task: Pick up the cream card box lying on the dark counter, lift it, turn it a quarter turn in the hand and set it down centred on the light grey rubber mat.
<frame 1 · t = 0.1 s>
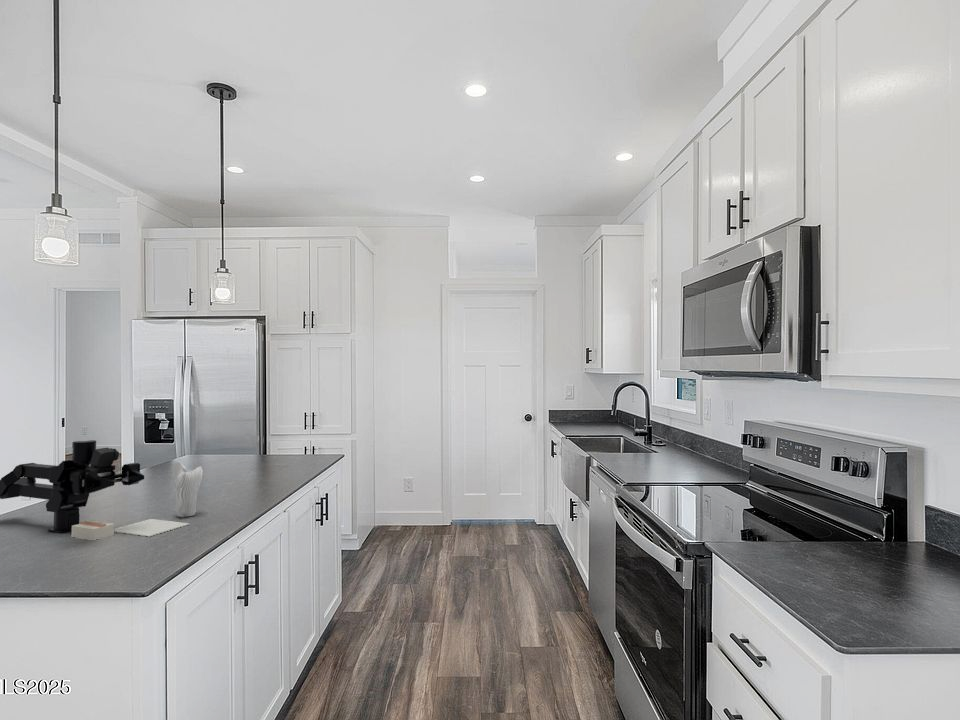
hand: (129, 480, 160), 17 cm above the countertop, tool horizontal, fingers open, 9 cm apart
card box: (92, 537, 161), on the countertop
mat: (150, 528, 170), on the countertop
shell sculpture: (186, 516, 185), on the countertop
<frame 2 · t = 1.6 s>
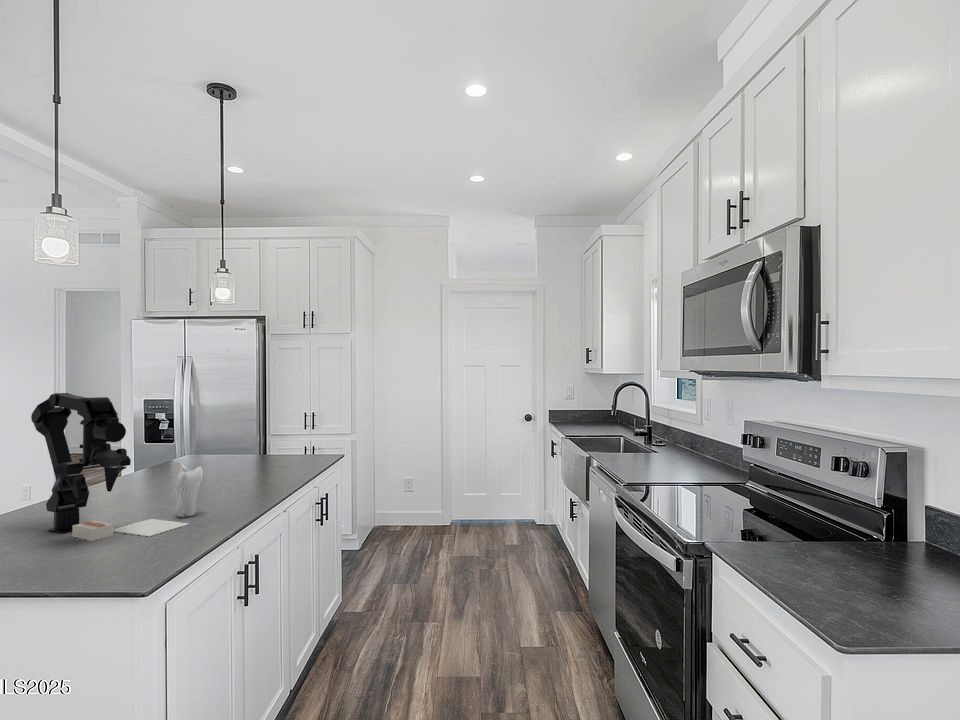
hand: (93, 494, 162), 12 cm above the countertop, tool pointing down, fingers open, 9 cm apart
nothing on the countertop moved.
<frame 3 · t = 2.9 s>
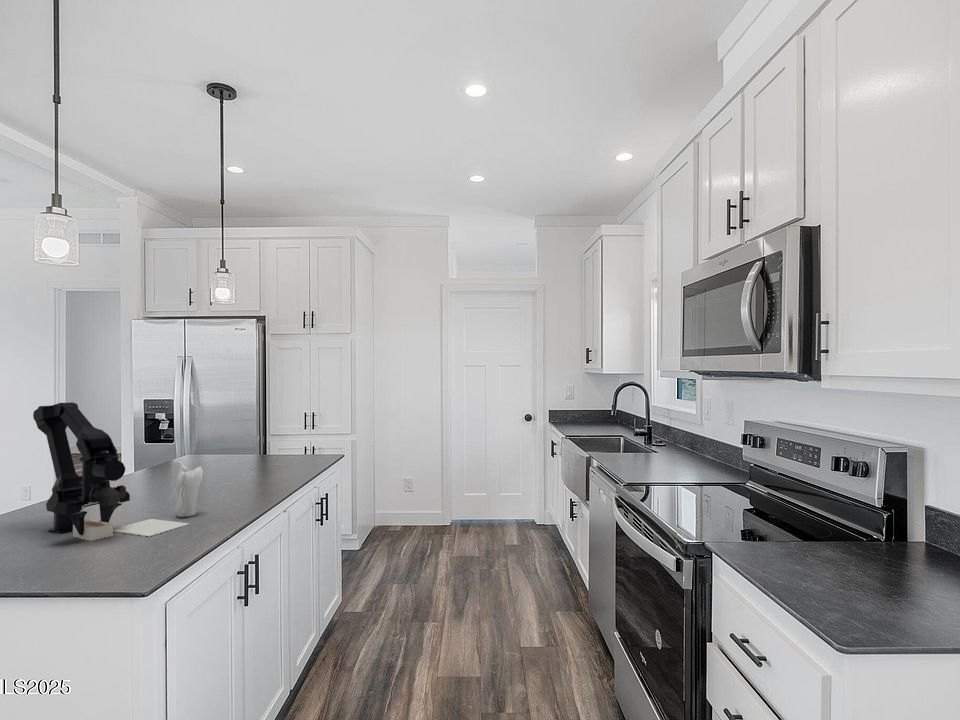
hand: (92, 531, 161), 1 cm above the countertop, tool pointing down, fingers closed on card box, 6 cm apart
card box: (92, 536, 161), on the countertop, touching gripper
everything else where it was.
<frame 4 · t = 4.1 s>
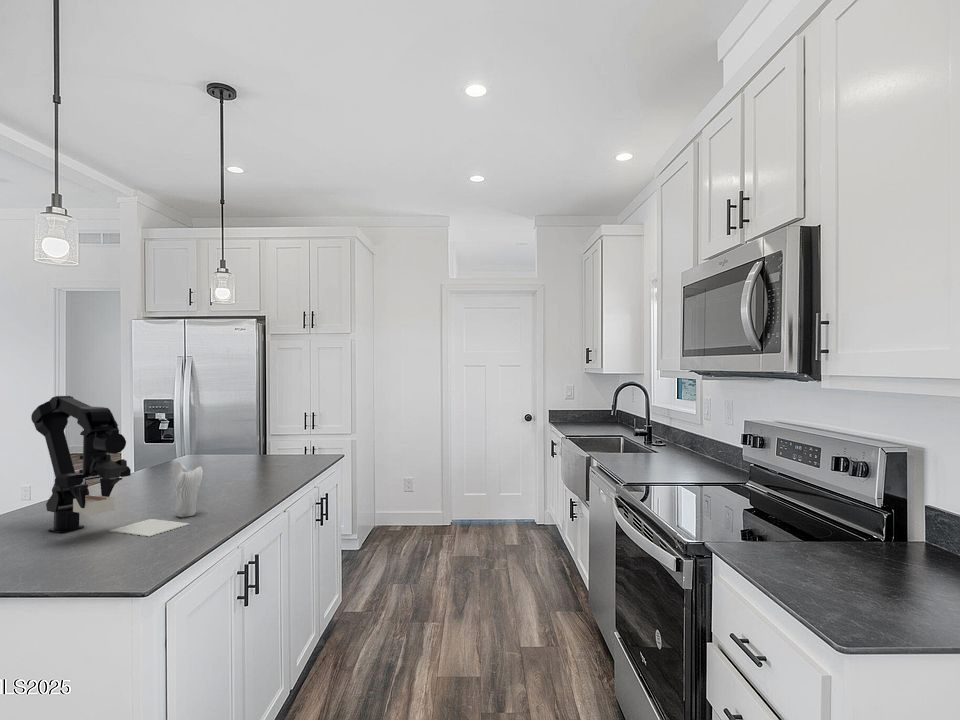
hand: (93, 505, 161), 9 cm above the countertop, tool pointing down, fingers closed on card box, 6 cm apart
card box: (93, 510, 161), point 7 cm above the countertop, touching gripper
everything else where it was.
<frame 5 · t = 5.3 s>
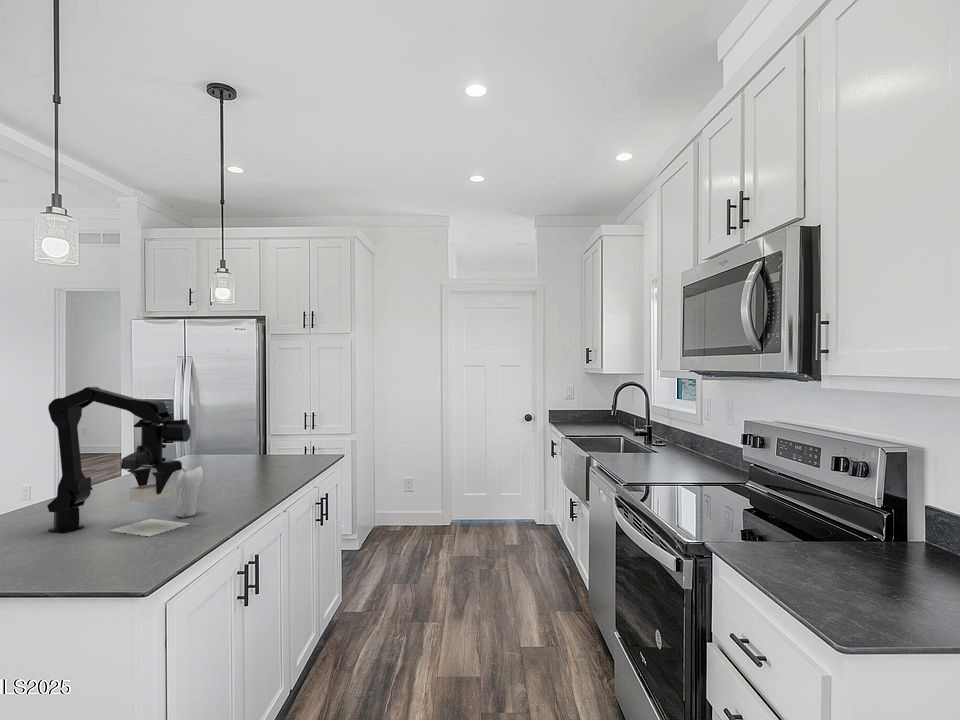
hand: (150, 493, 170), 11 cm above the countertop, tool pointing down, fingers closed on card box, 6 cm apart
card box: (150, 498, 170), point 9 cm above the countertop, touching gripper
everything else where it was.
when the fingers open (3 cm above the countertop, at t = 7.0 s): card box drops 1 cm, resting on mat.
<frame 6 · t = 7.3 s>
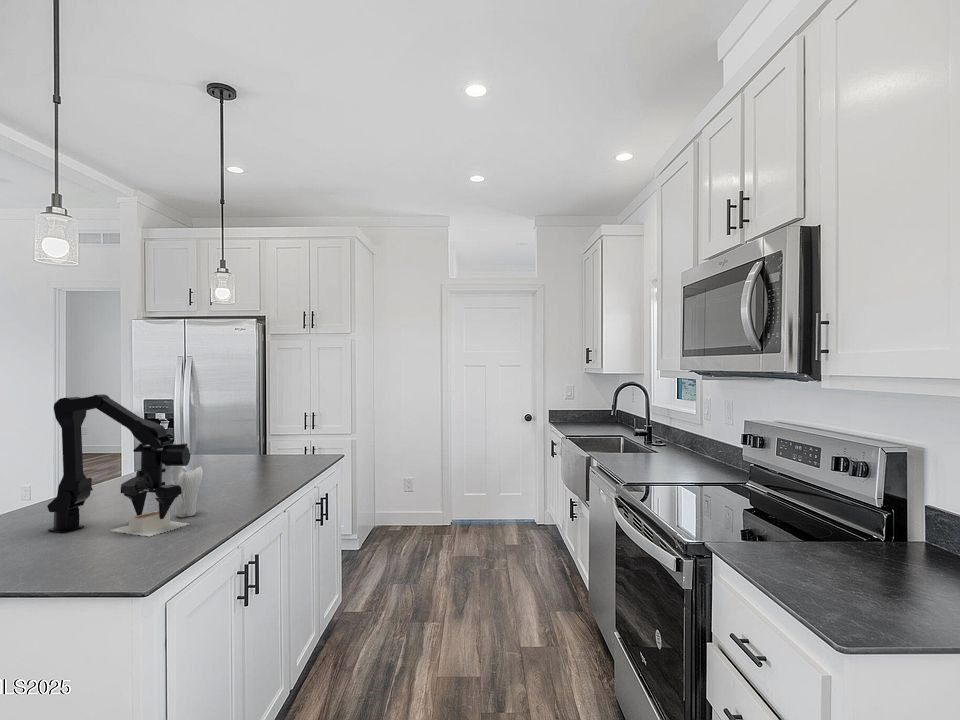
hand: (150, 517, 170), 3 cm above the countertop, tool pointing down, fingers open, 9 cm apart
card box: (150, 526, 170), resting on mat
everything else where it was.
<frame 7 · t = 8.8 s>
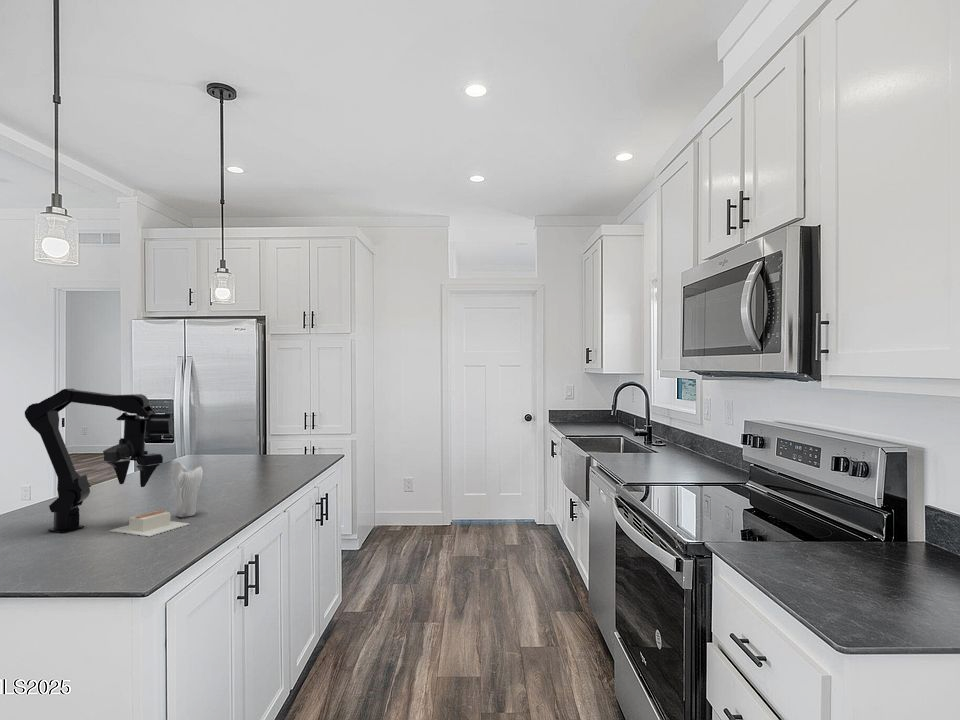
hand: (132, 485, 173), 12 cm above the countertop, tool pointing down, fingers open, 9 cm apart
nothing on the countertop moved.
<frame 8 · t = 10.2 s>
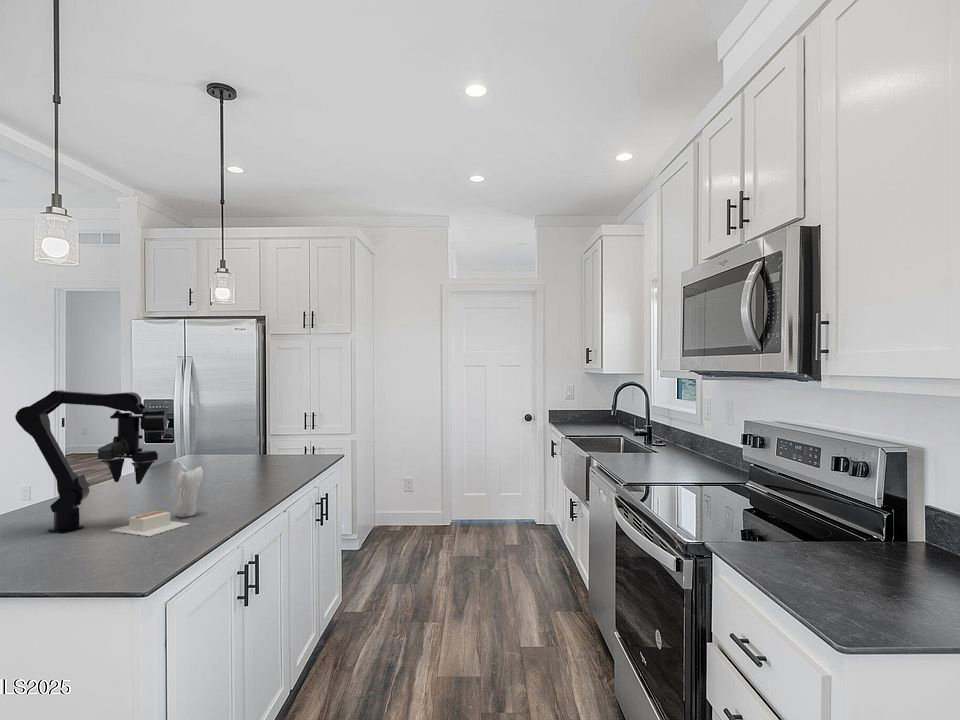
hand: (127, 482, 174), 13 cm above the countertop, tool pointing down, fingers open, 9 cm apart
nothing on the countertop moved.
at the end: card box inside the target area on the mat (0.1 cm from its centre), point 0.4 cm above the mat's base; card box tilted 0°; the gripper is holding nothing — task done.
